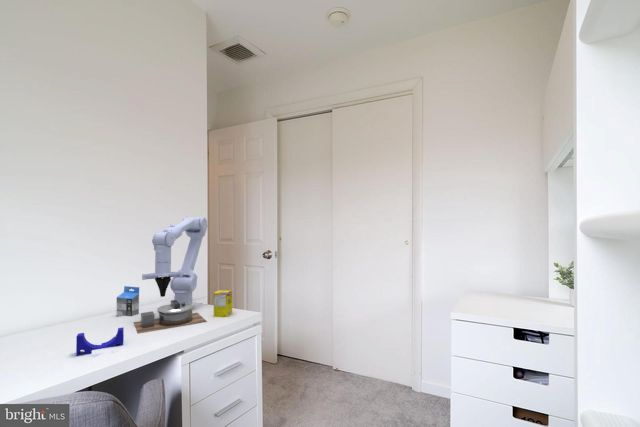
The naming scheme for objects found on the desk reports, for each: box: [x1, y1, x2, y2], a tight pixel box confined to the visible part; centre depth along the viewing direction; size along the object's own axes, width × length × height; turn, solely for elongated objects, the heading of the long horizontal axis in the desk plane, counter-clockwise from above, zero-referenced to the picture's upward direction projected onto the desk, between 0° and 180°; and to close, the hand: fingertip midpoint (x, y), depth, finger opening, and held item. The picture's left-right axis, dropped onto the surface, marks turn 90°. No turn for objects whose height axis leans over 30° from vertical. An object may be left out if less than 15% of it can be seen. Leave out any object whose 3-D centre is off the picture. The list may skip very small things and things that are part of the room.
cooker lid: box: [156, 299, 193, 314], centre depth 129 cm, size 13×13×3 cm
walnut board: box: [133, 312, 208, 335], centre depth 128 cm, size 16×24×1 cm, turn 124°
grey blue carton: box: [116, 285, 140, 318], centre depth 140 cm, size 9×4×12 cm, turn 71°
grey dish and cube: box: [140, 308, 193, 328], centre depth 127 cm, size 12×18×4 cm, turn 124°
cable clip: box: [75, 327, 125, 357], centre depth 103 cm, size 12×4×6 cm, turn 119°
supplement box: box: [213, 289, 233, 318], centre depth 138 cm, size 6×6×11 cm
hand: (162, 296), depth 131 cm, fingers closed
